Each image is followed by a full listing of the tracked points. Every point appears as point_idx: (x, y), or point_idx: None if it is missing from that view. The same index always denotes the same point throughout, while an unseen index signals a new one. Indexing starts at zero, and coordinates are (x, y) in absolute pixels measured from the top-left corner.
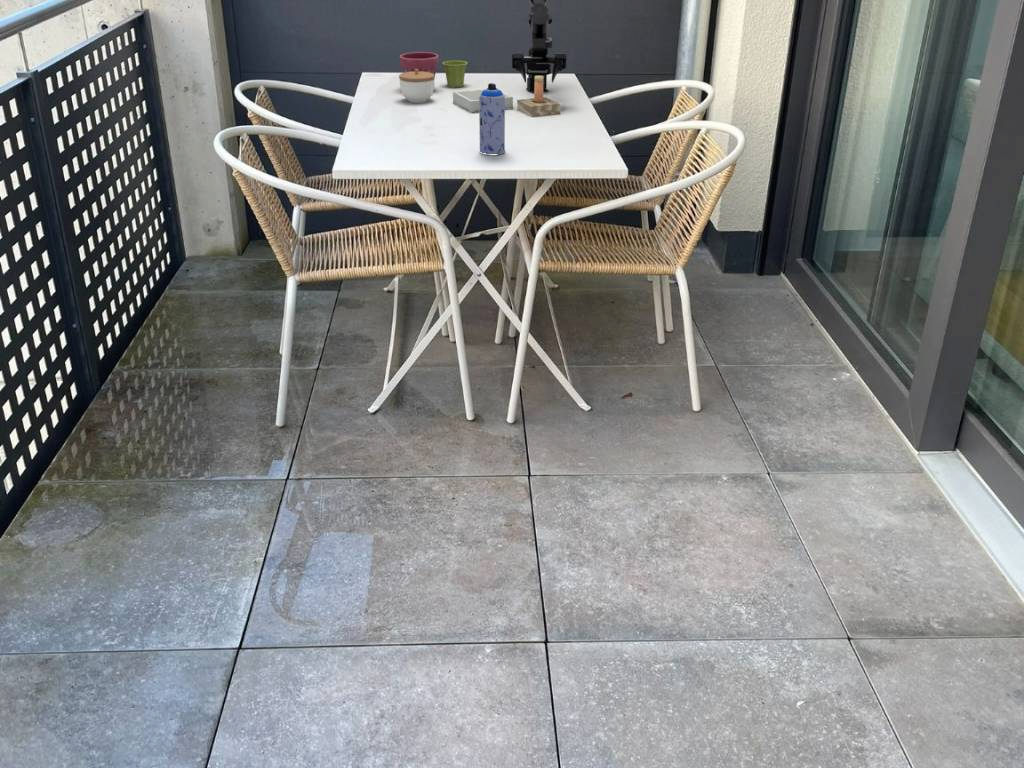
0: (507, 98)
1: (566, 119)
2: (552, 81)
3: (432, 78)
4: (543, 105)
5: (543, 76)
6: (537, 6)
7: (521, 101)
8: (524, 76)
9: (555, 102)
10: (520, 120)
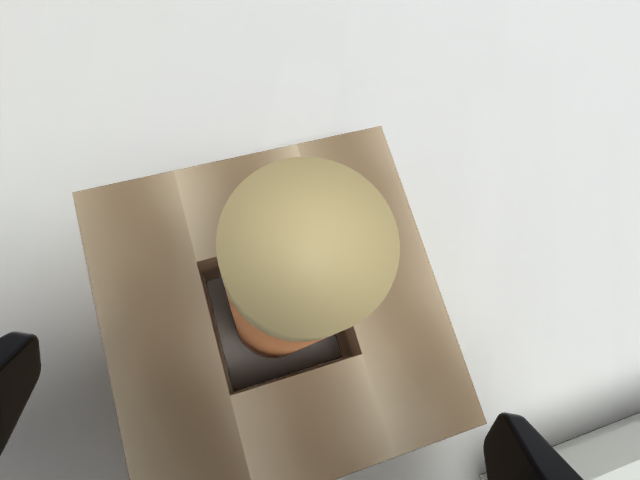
0: (587, 476)
1: (106, 47)
2: (26, 334)
3: None
4: (261, 153)
5: (219, 219)
6: None
7: (450, 337)
8: (568, 472)
9: (108, 244)
10: (447, 83)
